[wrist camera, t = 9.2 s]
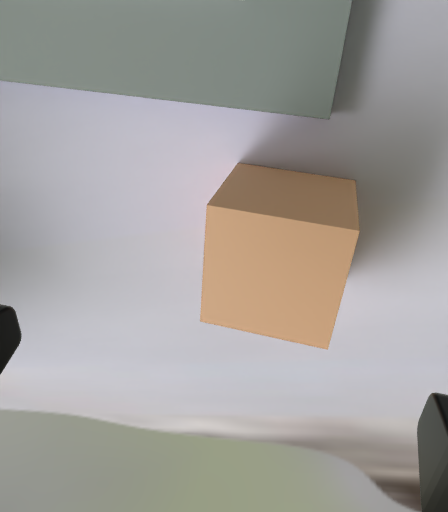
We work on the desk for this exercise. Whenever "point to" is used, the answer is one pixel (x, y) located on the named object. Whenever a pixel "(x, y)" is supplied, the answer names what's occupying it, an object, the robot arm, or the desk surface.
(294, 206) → the terracotta block
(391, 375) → the desk surface
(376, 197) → the desk surface
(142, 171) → the desk surface
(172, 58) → the blueprint plate
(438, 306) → the desk surface
